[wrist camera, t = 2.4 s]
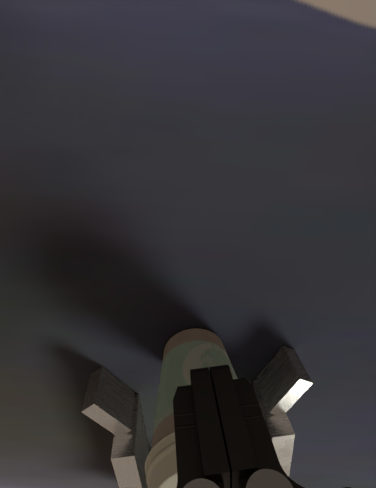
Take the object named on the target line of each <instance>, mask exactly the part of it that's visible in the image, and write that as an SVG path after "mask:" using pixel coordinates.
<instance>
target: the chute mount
mask: <svg viewBox="0 0 376 488" xmlns="http://www.w3.org/2000/svg"><path fill="white" fill-rule="evenodd" d="M256 378H257V380H253V388H254V390H255V393H256V396H257V399H258V402H259V406H260V408H261V411H262V414H263V417H264V419H265V422H266V425H267V428H268V431H269V434H270V437H271V440H272V442H273V445H274V448H275V451H276V454H277V457H278V460H279V462H280V465H281V467H282V469H283V470H284V472H285V473H286V474H287V475H288V477H289V473H290V466H291V459H292V451H293V444H294V437H295V434H294V431H293V429H292V426H291V424H290V422H289V419H288V417H287V414H286V412H287V411H288V410H289V409H290V408H291V406H292V405H293V404H294V403H295V402H296V401H297V400H298V399H299V398H300V397H301V396H302V395H303V394H304V392H305V391H306V390H307V389H308V388H309V387H310V386H311V385H312V384H313V382H312V381H311V379H310V377H309V375H308V373H307V371H306V370H305V368H304V366H303V364H302V362H301V360H300V359H299V357H298V355H297V353H296V351H295V350H294V349H291V348H289V347H286V346H282V347H281V348H280V349H279V351H278V352H277V353H276V354H275V355H274V357H273V358H272V359H271V360H270V361H269V363H268V364H267V365H266V366H265V368H264V369H263V370H262V371H261V372H260V374H259V375H258V376H257V377H256ZM81 412H82V413H83V414H85V415H86V416H88V417H89V418H91V419H92V420H94V421H95V422H97V423H98V424H100V425H101V426H102V427H104V428H105V429H107V430H108V431H110V432H111V433H113V434H114V438H113V445H112V453H111V462H112V465H113V468H114V472H115V475H116V478H117V482H118V485H119V488H148V486H147V483H146V474H145V461H146V458H147V456H148V454H149V452H150V449H149V444H148V439H147V434H146V429H145V424H144V419H143V414H142V409H141V403H140V398H139V394H135V392H134V391H133V390H132V389H130V388H129V387H128V386H127V385H125V384H124V383H123V382H121V381H120V380H119V379H118V378H116V377H115V376H114V375H113V374H111V373H110V372H109V371H108V370H106V369H105V368H104V367H103V366H102V367H100V368H99V369H97V370H96V371H94V372H93V373H91V374H90V378H89V382H88V386H87V390H86V394H85V398H84V402H83V406H82V410H81Z"/></svg>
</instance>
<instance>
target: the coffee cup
mask: <svg viewBox="0 0 376 488" xmlns="http://www.w3.org/2000/svg"><path fill="white" fill-rule="evenodd" d="M221 365H229V367H230V371H231V374H232V378H233V379H238V378H237V376H236V374H235V371H234V369H233V367H232V364H231V362H230V360H229V357H228V355H227V353H226V350H225V348H224V346H223V344H222V341H221V340H220V338H219V337H218V336H217V335H216V334H214V333H213V332H211V331H208V330H205V329H199V328H194V329H187V330H184V331H181V332H179V333H177V334H175V335H174V336H173V337H171V338H170V339H169V341H168V342H167V344H166V345H165V348H164V354H163V361H162V368H161V376H160V384H159V392H158V400H157V407H156V415H155V423H154V431H153V439H152V447H151V451H150V452H149V454H148V456H147V458H146V461H145V474H146V483H147V486H148V488H177V460H176V444H175V427H174V412H173V398H174V395H175V392H176V390H177V387H179V386H186V385H191V380H190V369H198V368H206V367H208V368H210V367H213V366H221ZM209 372H210V371H209Z"/></svg>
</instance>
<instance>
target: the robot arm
mask: <svg viewBox="0 0 376 488" xmlns="http://www.w3.org/2000/svg"><path fill="white" fill-rule="evenodd" d="M209 371H210V372H209ZM190 380H191V385H186V386H179V387H177V390H176V392H175V395H174V398H173V412H174V427H175V444H176V460H177V488H304V487H302V486H300V485H298V484H297V483H295V482H294V481H293V480H291V479H290V478H289V477H288V475H287V474H286V473H285V472H284V470H283V469H282V467H281V465H280V462H279V460H278V457H277V454H276V451H275V448H274V445H273V442H272V440H271V437H270V434H269V431H268V428H267V425H266V422H265V419H264V417H263V414H262V411H261V408H260V406H259V402H258V399H257V396H256V393H255V390H254V388H253V387H252V386H251V385H250V384H249V383H248V381H247V380H246V379H245V378H239V379H233V378H232V374H231V371H230V367H229V365H221V366H213V367H210V368H208V367H206V368H198V369H190ZM345 488H350V487H345Z"/></svg>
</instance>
